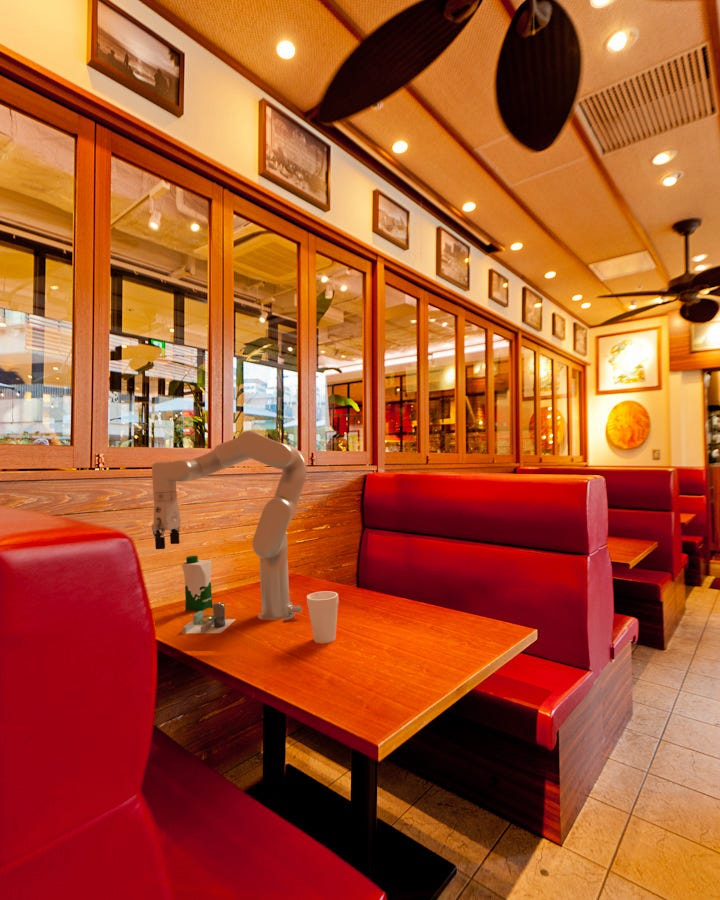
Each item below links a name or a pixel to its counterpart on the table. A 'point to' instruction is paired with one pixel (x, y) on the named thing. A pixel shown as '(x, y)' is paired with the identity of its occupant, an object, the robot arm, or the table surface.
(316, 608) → the foam cup
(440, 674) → the table surface
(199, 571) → the milk carton
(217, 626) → the cell
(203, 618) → the plunger
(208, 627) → the board
